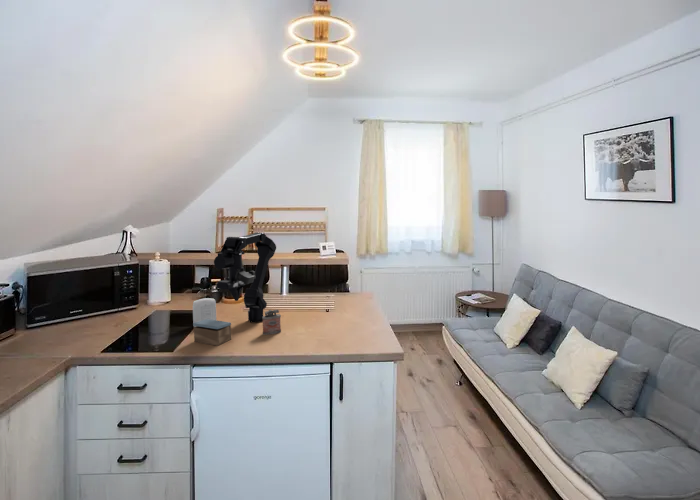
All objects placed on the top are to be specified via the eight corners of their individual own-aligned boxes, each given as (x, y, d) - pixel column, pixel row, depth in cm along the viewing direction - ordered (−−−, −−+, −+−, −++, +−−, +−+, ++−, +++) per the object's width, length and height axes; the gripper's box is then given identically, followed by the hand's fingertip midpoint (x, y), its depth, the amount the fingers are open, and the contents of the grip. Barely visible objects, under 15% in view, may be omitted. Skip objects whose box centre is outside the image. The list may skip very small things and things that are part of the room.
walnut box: (208, 335, 179) (207, 322, 178) (231, 339, 174) (230, 325, 174) (194, 341, 172) (193, 327, 171) (217, 345, 167) (217, 331, 166)
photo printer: (215, 321, 198) (214, 296, 197) (217, 324, 195) (216, 298, 193) (192, 325, 193) (191, 299, 191) (194, 328, 189) (193, 301, 188)
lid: (207, 321, 178) (207, 319, 178) (231, 324, 174) (231, 322, 173) (192, 325, 171) (193, 323, 171) (217, 329, 166) (217, 326, 166)
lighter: (263, 335, 179) (263, 312, 178) (261, 332, 182) (261, 310, 181) (282, 332, 183) (281, 309, 182) (279, 330, 186) (279, 308, 185)
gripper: (236, 270, 172) (238, 307, 174) (263, 263, 189) (264, 297, 191) (214, 268, 176) (216, 305, 178) (242, 262, 193) (244, 295, 195)
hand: (236, 300), depth 186 cm, fingers closed
